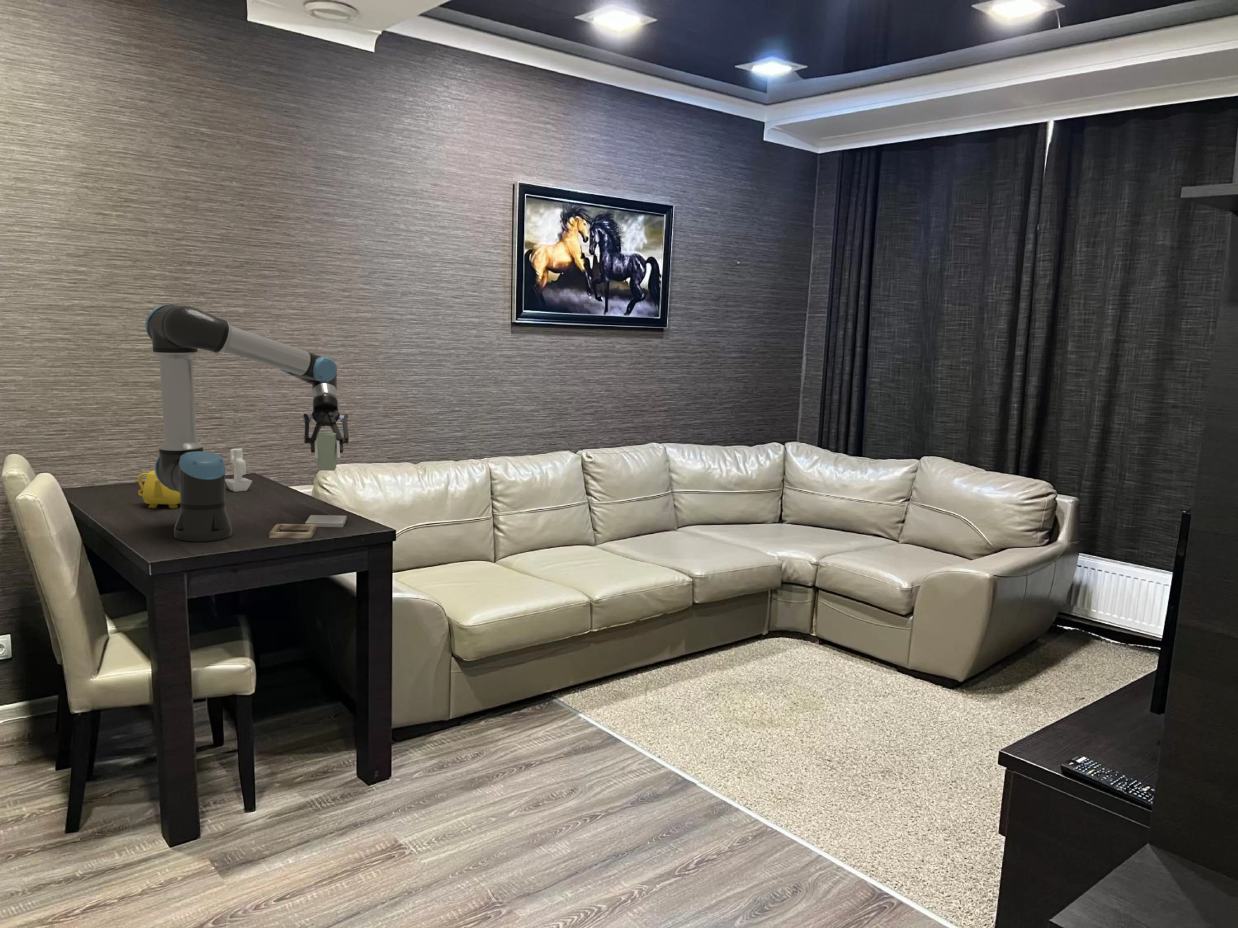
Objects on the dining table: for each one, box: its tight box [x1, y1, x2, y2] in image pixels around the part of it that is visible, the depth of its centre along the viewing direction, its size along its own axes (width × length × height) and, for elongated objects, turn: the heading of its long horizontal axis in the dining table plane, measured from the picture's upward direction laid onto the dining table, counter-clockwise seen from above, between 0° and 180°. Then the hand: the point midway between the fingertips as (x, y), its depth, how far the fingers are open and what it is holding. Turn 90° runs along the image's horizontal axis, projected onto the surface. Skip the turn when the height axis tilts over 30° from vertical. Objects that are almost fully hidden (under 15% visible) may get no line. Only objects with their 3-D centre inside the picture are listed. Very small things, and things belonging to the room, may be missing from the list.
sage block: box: [316, 432, 337, 472], centre depth 280 cm, size 5×5×11 cm
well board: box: [268, 523, 317, 539], centre depth 268 cm, size 11×11×2 cm
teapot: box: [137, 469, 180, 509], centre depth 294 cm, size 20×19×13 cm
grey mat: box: [304, 514, 348, 528], centre depth 284 cm, size 11×11×1 cm
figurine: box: [225, 447, 253, 493], centre depth 324 cm, size 7×9×15 cm
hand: (327, 460), depth 277 cm, fingers closed on sage block, 6 cm apart
